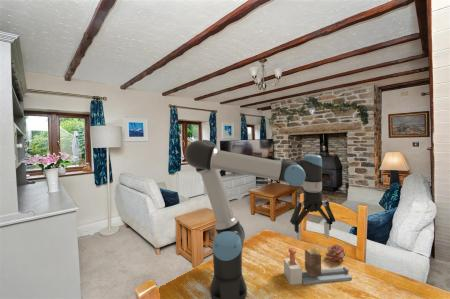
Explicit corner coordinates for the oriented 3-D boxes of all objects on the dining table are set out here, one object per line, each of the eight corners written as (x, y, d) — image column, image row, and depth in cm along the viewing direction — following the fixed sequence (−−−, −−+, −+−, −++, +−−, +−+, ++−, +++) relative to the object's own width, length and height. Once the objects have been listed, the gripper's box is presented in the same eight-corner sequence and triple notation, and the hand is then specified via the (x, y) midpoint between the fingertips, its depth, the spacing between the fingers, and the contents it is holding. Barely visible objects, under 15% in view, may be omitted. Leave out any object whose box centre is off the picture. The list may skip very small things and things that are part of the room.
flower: (345, 253, 112) (335, 239, 113) (354, 259, 103) (343, 245, 104) (330, 263, 112) (320, 250, 113) (338, 271, 103) (327, 256, 104)
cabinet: (290, 284, 92) (290, 269, 91) (283, 273, 100) (283, 258, 99) (302, 283, 92) (301, 268, 92) (294, 272, 100) (294, 257, 100)
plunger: (290, 264, 94) (290, 252, 93) (287, 260, 97) (287, 248, 97) (297, 264, 94) (297, 251, 94) (294, 260, 97) (294, 247, 97)
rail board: (303, 284, 92) (303, 277, 92) (296, 274, 99) (296, 267, 99) (351, 279, 94) (352, 273, 94) (341, 269, 101) (341, 263, 101)
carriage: (310, 276, 93) (310, 254, 92) (304, 269, 98) (304, 248, 97) (321, 275, 93) (321, 253, 93) (315, 268, 98) (315, 248, 98)
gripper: (288, 194, 88) (289, 244, 90) (344, 191, 91) (344, 240, 92) (282, 189, 96) (282, 236, 97) (334, 186, 98) (333, 232, 99)
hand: (312, 238), depth 95 cm, fingers open, 12 cm apart
